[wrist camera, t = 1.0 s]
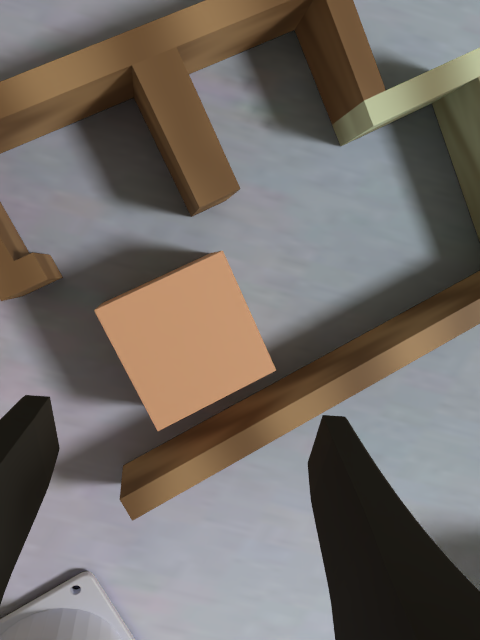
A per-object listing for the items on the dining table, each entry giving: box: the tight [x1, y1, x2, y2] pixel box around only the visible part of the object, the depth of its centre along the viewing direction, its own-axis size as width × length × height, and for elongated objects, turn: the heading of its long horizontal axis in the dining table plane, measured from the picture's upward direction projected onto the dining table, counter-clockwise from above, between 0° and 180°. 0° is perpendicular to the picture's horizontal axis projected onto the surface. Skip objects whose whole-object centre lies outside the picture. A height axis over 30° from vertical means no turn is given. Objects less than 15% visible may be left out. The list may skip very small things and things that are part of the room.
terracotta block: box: [94, 251, 276, 431], centre depth 21 cm, size 6×6×4 cm
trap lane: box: [0, 0, 480, 521], centre depth 22 cm, size 25×19×4 cm
